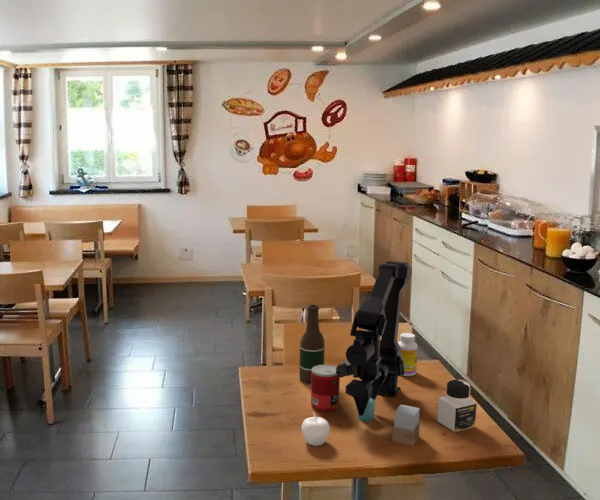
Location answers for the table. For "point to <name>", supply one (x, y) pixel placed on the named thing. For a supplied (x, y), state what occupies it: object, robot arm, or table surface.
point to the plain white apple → (315, 430)
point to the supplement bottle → (408, 353)
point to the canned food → (324, 388)
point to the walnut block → (405, 435)
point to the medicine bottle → (457, 407)
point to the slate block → (406, 417)
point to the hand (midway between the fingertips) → (366, 408)
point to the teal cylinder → (368, 412)
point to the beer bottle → (311, 346)
